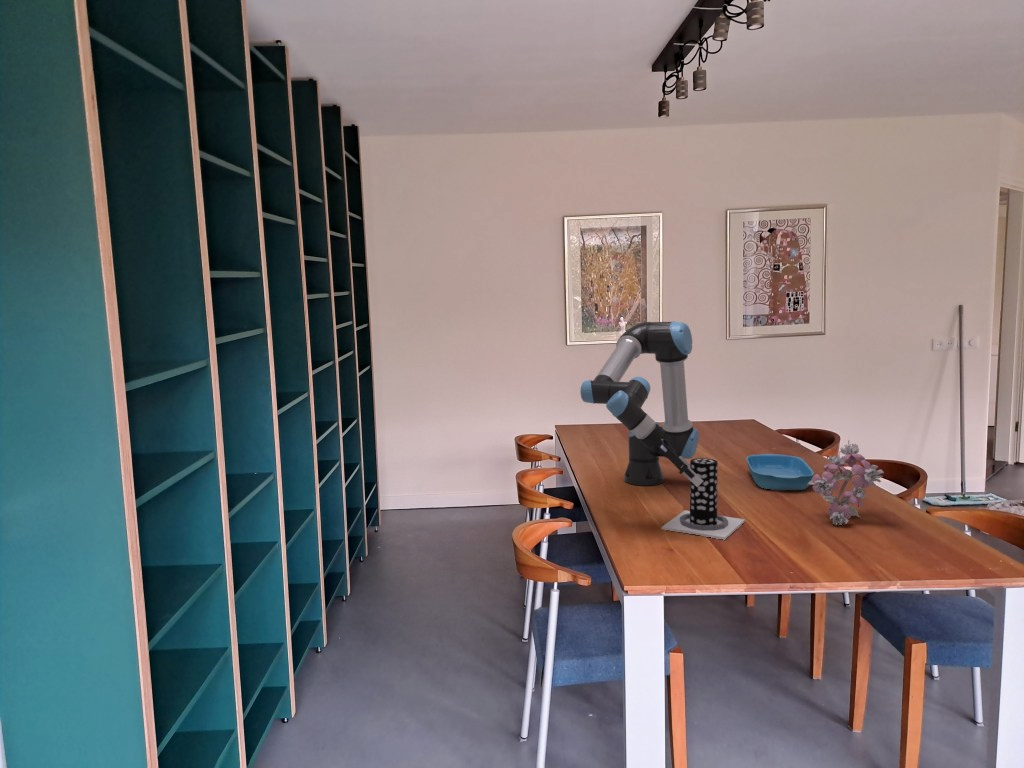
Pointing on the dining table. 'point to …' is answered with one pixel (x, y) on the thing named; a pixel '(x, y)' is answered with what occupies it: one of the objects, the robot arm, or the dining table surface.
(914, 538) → the dining table surface
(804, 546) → the dining table surface
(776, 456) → the casserole dish
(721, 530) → the ring dock
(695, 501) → the spotted tube
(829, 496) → the flower
